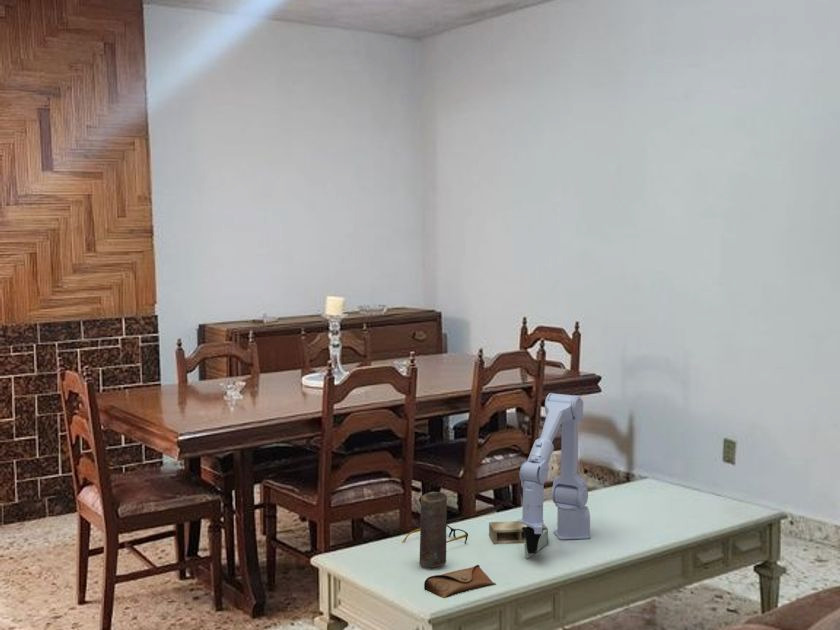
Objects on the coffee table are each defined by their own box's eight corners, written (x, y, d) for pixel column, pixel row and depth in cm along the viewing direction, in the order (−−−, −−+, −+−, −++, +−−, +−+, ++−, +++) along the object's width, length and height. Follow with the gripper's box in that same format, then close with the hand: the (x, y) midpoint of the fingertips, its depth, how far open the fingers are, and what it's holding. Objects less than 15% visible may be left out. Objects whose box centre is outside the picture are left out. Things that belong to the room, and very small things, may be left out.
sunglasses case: (443, 599, 246) (435, 572, 248) (429, 605, 251) (421, 580, 253) (498, 583, 256) (490, 558, 259) (484, 590, 261) (476, 566, 264)
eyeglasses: (470, 545, 289) (470, 532, 289) (433, 556, 280) (433, 542, 279) (438, 534, 300) (438, 521, 299) (401, 544, 290) (401, 531, 290)
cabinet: (541, 533, 298) (541, 520, 298) (547, 542, 290) (547, 528, 290) (489, 535, 296) (489, 522, 296) (494, 544, 288) (494, 530, 288)
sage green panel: (545, 542, 290) (545, 528, 289) (548, 542, 289) (548, 529, 289) (524, 557, 276) (524, 544, 275) (527, 558, 275) (527, 544, 275)
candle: (452, 566, 270) (452, 494, 268) (433, 572, 265) (433, 500, 263) (432, 559, 276) (432, 489, 274) (414, 565, 271) (413, 494, 269)
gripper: (513, 498, 281) (512, 545, 282) (524, 511, 267) (523, 560, 267) (537, 498, 282) (536, 545, 282) (550, 510, 267) (548, 560, 268)
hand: (531, 552), depth 275 cm, fingers closed, pressing on sage green panel
